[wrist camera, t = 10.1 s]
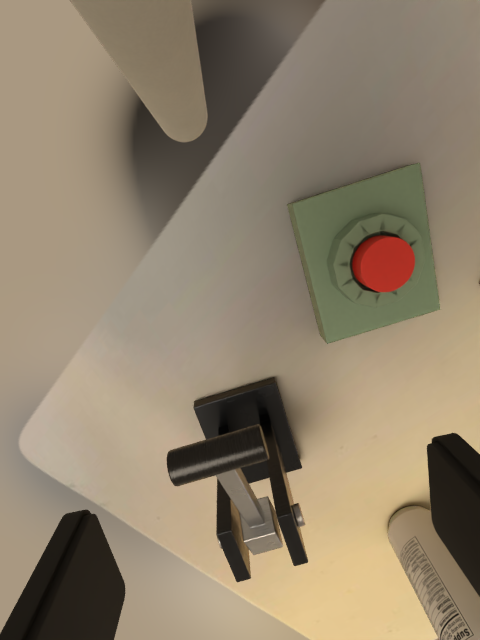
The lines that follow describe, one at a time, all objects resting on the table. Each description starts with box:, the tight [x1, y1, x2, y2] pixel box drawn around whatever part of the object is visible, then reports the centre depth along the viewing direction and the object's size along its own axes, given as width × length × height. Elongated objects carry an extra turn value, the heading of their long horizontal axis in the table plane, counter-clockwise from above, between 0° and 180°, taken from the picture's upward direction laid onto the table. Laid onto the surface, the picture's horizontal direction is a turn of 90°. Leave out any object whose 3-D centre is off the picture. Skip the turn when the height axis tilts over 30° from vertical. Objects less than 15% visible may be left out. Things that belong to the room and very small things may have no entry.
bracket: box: [194, 377, 308, 582], centre depth 29 cm, size 10×8×13 cm
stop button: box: [352, 235, 415, 292], centre depth 26 cm, size 4×4×2 cm
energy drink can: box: [388, 506, 480, 640], centre depth 32 cm, size 6×6×15 cm
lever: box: [167, 424, 283, 555], centre depth 22 cm, size 12×5×2 cm, turn 18°
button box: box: [287, 163, 440, 344], centre depth 29 cm, size 12×10×4 cm
